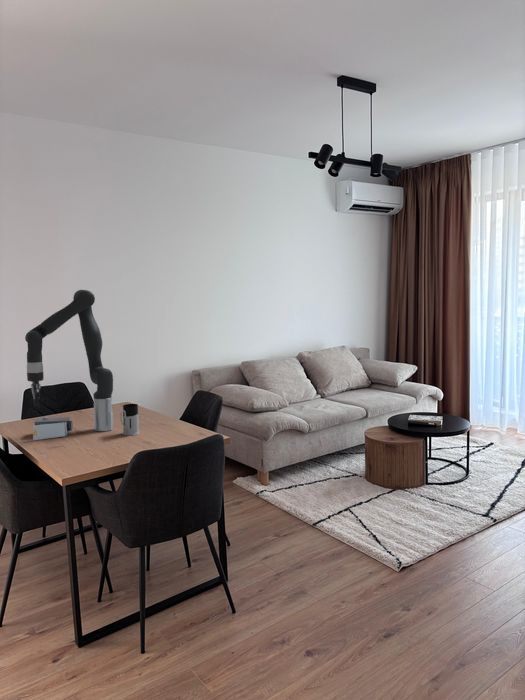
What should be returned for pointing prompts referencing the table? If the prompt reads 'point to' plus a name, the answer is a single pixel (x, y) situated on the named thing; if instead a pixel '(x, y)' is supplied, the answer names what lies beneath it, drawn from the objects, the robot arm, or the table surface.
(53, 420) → the grey box with knob
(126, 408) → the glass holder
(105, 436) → the table surface
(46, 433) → the side door
